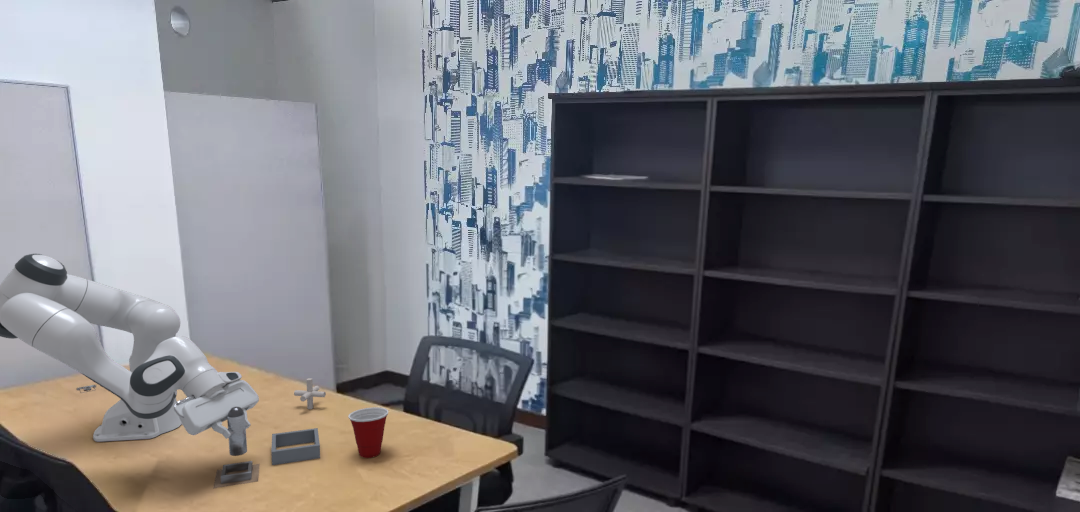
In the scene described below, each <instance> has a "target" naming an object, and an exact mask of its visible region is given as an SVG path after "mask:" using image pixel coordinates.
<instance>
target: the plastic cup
mask: <svg viewBox="0 0 1080 512" xmlns="http://www.w3.org/2000/svg"><path fill="white" fill-rule="evenodd" d="M388 415H389V410H388V408H384V407H366V408H365V407H364V408H361V409H360V408H359V409H357V410H354V411H352V412H351V413H349V414H348V416H347V417H348V420H350V422H351V426H352V430H353V434H354V439H355V443H356V446H357V452H358V455H359V456H360V457H361V458H364V459H371V458H375V457H377V456H379V455H380V454H381V451H382V444H383V440H384V432H385V427H386V420H387V417H388Z"/></svg>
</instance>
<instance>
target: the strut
mask: <svg viewBox="0 0 1080 512" xmlns="http://www.w3.org/2000/svg"><path fill="white" fill-rule="evenodd" d="M226 421H227V429H228V428H231V429H232V431H233V432H234V434H233V435H232V436H231V437H229V438H228V449H229V451H228V452H229V456H231V457H232V456H233V457H238V456H242V455H244V454H246V453H248V445H247V444H248V443H247V440H248V439H247V429H246V424H245V413H244V411H243V409H242V408H241V407H233V408H231V409H230V410H229V412H228V415H227V420H226Z"/></svg>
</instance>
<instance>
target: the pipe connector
mask: <svg viewBox="0 0 1080 512" xmlns="http://www.w3.org/2000/svg"><path fill="white" fill-rule="evenodd" d="M305 382H306V390H303V389H302V390H301V389H298V390H297V389H296V390H294V391H293V395H294V396H295V397H300V398H299V400H300V401H301V402H305V401H306V406H307V410H312V409H314V398H326V395H327V394H326V391H322V390H321V391H319V390H320V386H319V385H315V386H313V378H311V377H309V378H306V381H305Z"/></svg>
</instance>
